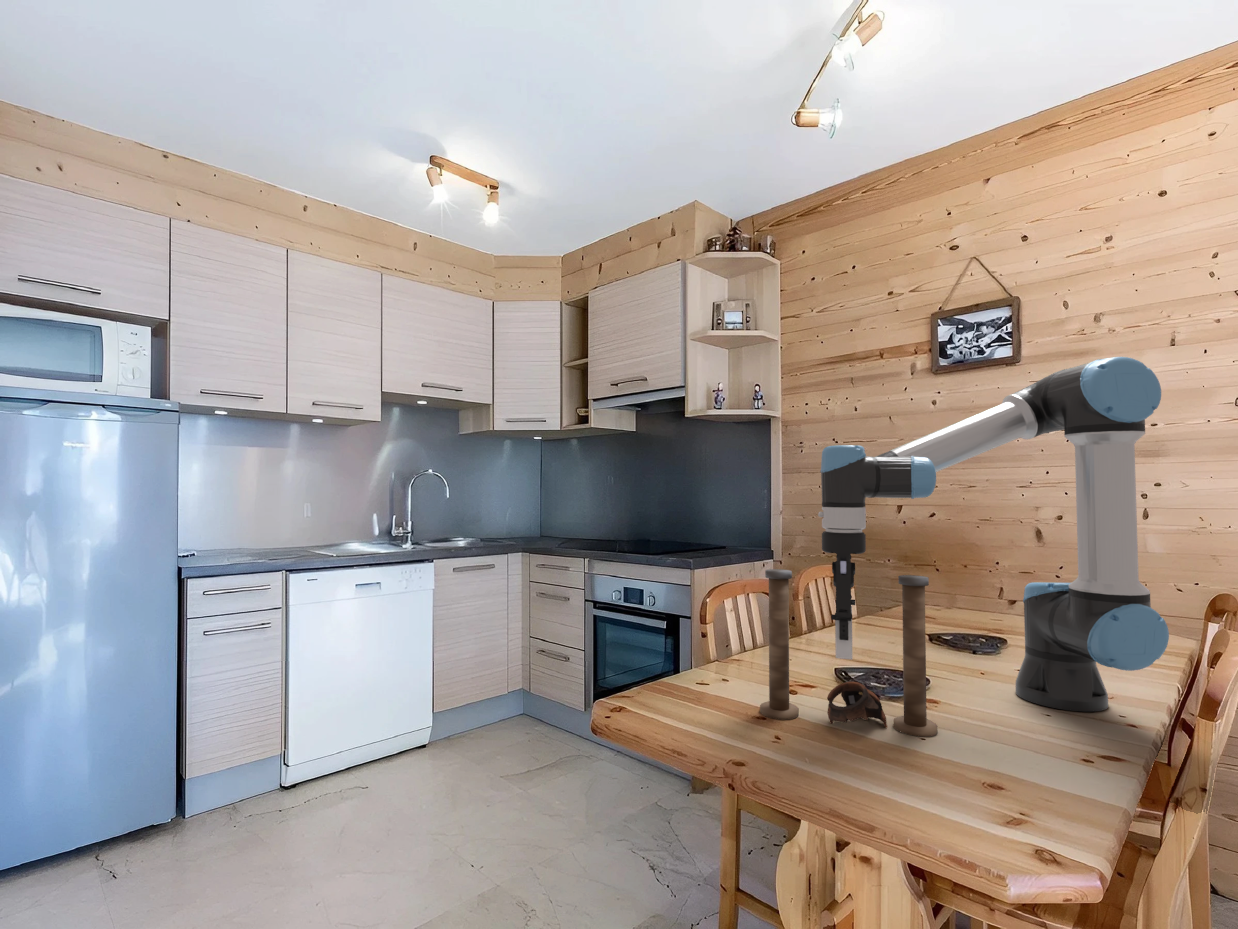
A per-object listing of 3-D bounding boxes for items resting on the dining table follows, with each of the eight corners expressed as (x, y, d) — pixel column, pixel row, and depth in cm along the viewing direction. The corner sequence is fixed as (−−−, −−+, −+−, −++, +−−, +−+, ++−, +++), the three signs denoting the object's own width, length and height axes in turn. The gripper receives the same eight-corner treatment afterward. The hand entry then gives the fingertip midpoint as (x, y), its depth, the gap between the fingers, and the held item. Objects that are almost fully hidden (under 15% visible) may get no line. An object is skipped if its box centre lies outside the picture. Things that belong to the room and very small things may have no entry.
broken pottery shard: (899, 737, 110) (880, 698, 108) (847, 758, 111) (827, 720, 110) (875, 697, 121) (858, 661, 120) (828, 716, 123) (810, 681, 121)
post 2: (935, 724, 114) (933, 575, 115) (940, 739, 108) (938, 580, 108) (892, 719, 117) (890, 573, 117) (894, 733, 110) (892, 578, 111)
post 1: (800, 709, 122) (799, 569, 123) (797, 721, 115) (796, 574, 116) (762, 704, 124) (761, 567, 125) (757, 716, 118) (756, 572, 119)
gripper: (824, 526, 130) (825, 632, 129) (818, 535, 107) (819, 665, 106) (864, 527, 128) (865, 635, 127) (867, 536, 104) (868, 669, 103)
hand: (844, 649), depth 116 cm, fingers open, 13 cm apart
